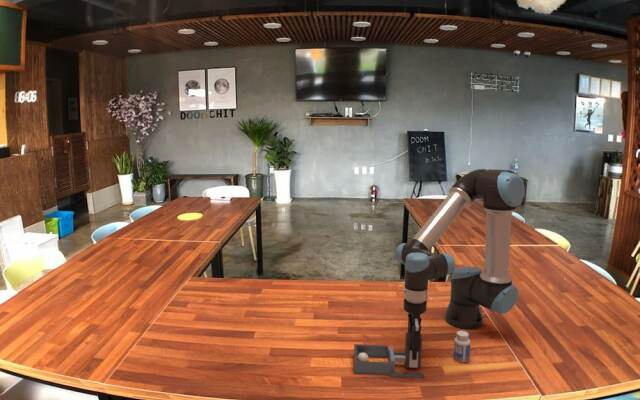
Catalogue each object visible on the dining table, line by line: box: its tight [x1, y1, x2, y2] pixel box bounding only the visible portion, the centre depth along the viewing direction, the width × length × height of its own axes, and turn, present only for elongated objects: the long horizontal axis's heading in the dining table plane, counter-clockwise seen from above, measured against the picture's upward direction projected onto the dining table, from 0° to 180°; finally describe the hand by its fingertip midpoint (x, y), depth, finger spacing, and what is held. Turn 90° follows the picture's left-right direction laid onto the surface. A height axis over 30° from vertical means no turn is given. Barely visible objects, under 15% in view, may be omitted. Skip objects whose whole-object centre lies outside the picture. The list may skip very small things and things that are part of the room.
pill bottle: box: [453, 330, 471, 363], centre depth 156 cm, size 6×5×10 cm
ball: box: [357, 353, 370, 361], centre depth 154 cm, size 4×4×4 cm
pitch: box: [353, 343, 425, 379], centre depth 153 cm, size 23×14×4 cm, turn 86°
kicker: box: [388, 332, 423, 372], centre depth 152 cm, size 10×9×11 cm
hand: (412, 362), depth 152 cm, fingers closed on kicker, 4 cm apart
